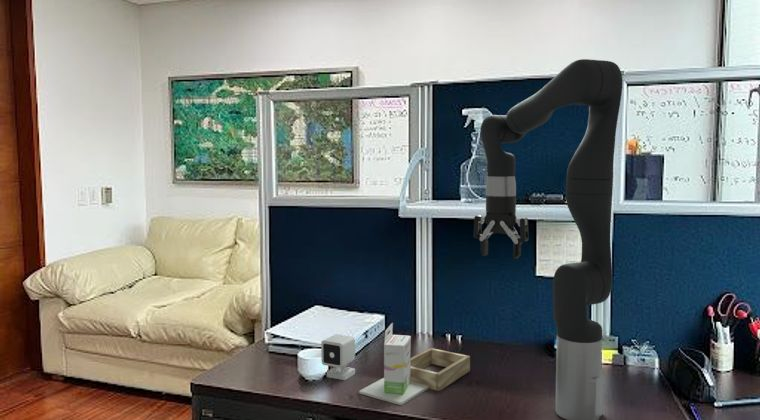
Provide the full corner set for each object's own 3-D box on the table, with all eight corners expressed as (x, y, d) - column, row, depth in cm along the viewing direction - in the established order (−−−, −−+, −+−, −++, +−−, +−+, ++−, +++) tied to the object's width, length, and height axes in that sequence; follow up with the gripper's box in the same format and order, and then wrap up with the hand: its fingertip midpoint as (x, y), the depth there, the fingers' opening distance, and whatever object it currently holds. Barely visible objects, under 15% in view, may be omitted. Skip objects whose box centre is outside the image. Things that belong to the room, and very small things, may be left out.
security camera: (321, 378, 149) (320, 340, 148) (336, 369, 155) (335, 332, 154) (342, 382, 146) (342, 343, 145) (356, 373, 152) (356, 336, 152)
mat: (432, 385, 144) (432, 383, 144) (401, 405, 133) (401, 402, 133) (392, 375, 151) (392, 373, 151) (359, 393, 140) (359, 390, 140)
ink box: (404, 395, 137) (403, 333, 136) (383, 393, 138) (383, 331, 137) (411, 381, 145) (411, 323, 144) (392, 379, 146) (391, 321, 145)
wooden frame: (469, 371, 154) (469, 356, 153) (439, 391, 141) (439, 374, 140) (430, 362, 161) (430, 347, 160) (397, 380, 148) (397, 364, 147)
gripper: (533, 194, 149) (532, 257, 150) (481, 192, 157) (481, 252, 159) (521, 195, 143) (520, 261, 144) (469, 194, 151) (468, 256, 153)
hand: (500, 256), depth 151 cm, fingers open, 8 cm apart
